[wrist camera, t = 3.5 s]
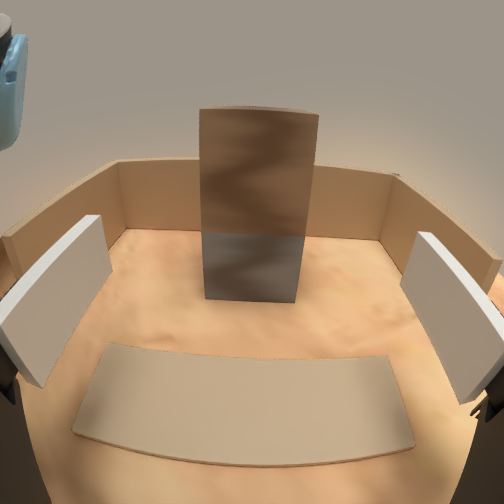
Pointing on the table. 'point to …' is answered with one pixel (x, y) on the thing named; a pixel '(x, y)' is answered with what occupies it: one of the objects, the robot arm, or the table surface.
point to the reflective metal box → (254, 199)
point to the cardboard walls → (247, 369)
